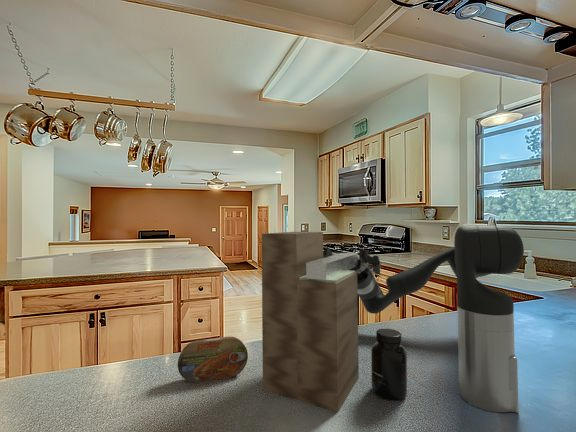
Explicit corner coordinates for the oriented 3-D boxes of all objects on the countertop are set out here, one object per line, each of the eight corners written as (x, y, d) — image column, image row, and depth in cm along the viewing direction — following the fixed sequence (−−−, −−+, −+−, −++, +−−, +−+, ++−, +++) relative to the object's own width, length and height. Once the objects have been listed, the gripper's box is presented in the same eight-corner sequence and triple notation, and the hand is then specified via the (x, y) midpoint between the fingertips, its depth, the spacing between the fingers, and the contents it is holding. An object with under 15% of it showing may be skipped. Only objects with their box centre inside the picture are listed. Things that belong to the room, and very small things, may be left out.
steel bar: (358, 265, 77) (357, 253, 77) (326, 280, 58) (325, 263, 58) (342, 264, 79) (342, 252, 79) (306, 278, 59) (306, 262, 60)
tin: (177, 385, 66) (177, 345, 66) (178, 378, 69) (178, 339, 69) (248, 375, 70) (248, 337, 70) (246, 369, 73) (246, 333, 73)
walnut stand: (358, 377, 68) (356, 232, 69) (337, 412, 56) (335, 234, 57) (293, 363, 76) (292, 231, 77) (262, 390, 63) (261, 233, 64)
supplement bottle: (368, 396, 61) (367, 334, 61) (375, 380, 67) (374, 324, 67) (405, 405, 58) (403, 340, 58) (409, 388, 64) (408, 329, 64)
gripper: (384, 292, 80) (371, 267, 68) (332, 287, 87) (311, 264, 75) (387, 265, 84) (375, 237, 71) (336, 262, 90) (317, 236, 78)
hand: (342, 251), depth 73 cm, fingers open, 8 cm apart
